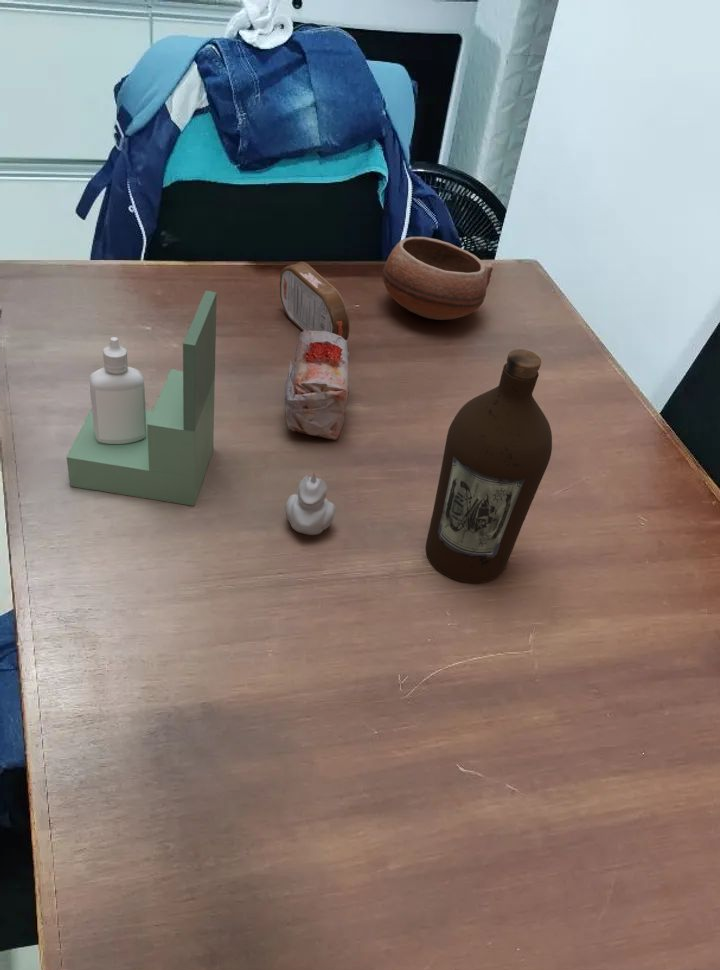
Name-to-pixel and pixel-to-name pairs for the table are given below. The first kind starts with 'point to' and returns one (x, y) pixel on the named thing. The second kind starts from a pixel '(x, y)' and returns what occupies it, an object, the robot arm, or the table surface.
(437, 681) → the table surface
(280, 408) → the table surface
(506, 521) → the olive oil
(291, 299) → the tin
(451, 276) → the bowl
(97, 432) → the eye dropper bottle
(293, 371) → the food item
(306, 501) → the rubber duck
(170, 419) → the step shelf
